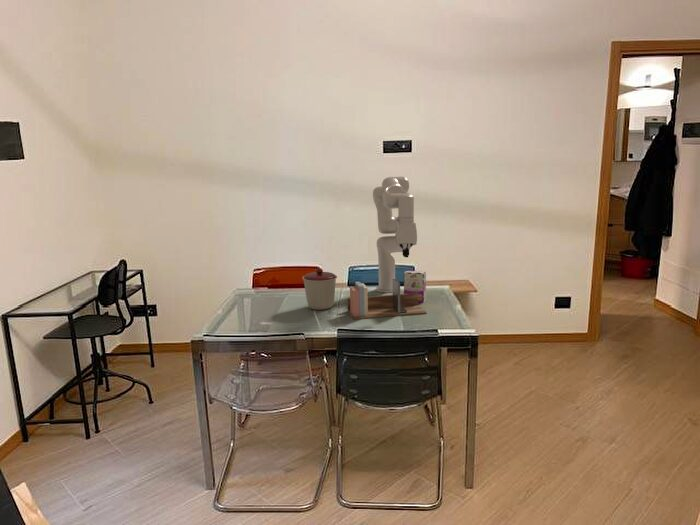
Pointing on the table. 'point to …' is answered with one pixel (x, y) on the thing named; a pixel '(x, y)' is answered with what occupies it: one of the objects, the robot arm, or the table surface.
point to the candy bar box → (415, 284)
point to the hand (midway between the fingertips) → (405, 256)
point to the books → (359, 299)
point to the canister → (320, 289)
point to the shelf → (390, 306)
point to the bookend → (397, 297)
